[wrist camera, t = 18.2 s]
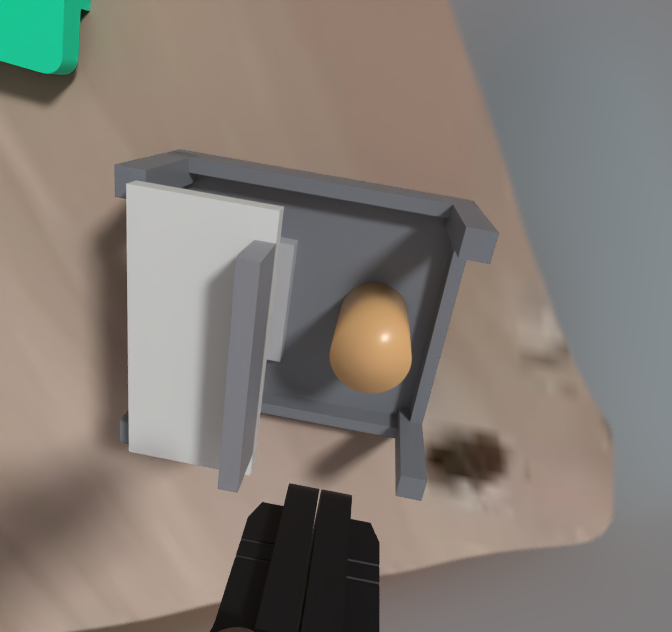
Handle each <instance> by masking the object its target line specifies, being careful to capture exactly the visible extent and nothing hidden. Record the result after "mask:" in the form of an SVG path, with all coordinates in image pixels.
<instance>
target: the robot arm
mask: <svg viewBox="0 0 672 632" xmlns="http://www.w3.org/2000/svg"><path fill="white" fill-rule="evenodd" d="M318 494H319V489H316V488H311V487H306V486H301V485H296V484H290V483H289V486H288V490H287V495H286V499H285V503H284V506H280V505H275V504H269V503H264V502H262V503H261V504H260V505H259V506H258V507H257V508H256V509H255V510H254V512H253V513H252V514H251V515H250V516H249V517H248V519H247V522H246V525H245V528H244V531H243V535H242V538H241V541H240V544H239V547H238V550H237V554H236V558H235V560H234V563H233V566H232V569H231V573H230V576H229V579H228V582H227V585H226V588H225V591H224V595H223V598H222V601H221V604H220V608H219V610H218V614H217V617H216V620H215V623H214V625H213V627H212V629H211V631H210V632H379V541H378V539H377V536H376V534H375V532H374V530H373V527H372V525H371V523H368V522H363V521H358V520H353V519H350V518H351V504H352V495H348V494H343V493H338V492H333V491H327V490H321V494H320V499H319V504H318V509H317V514H316V518H315V513H316V507H317V500H318ZM314 519H315V523H314ZM313 526H314V528H313ZM312 532H313V533H312Z"/></svg>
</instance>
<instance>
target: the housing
mask: <svg viewBox="0 0 672 632" xmlns="http://www.w3.org/2000/svg"><path fill="white" fill-rule="evenodd" d="M114 167H115V197H119V198H125V199H126V183H130V182H133V181H136V180H137V181H143V182H148V183H154V184H160V185H165V186H171V187H177V188H182V189H188V190H193V191H199V192H205V193H210V194H216V195H221V196H227V197H233V198H238V199H244V200H250V201H255V202H261V203H266V204H272V205H278V206H283V207H284V212H283V221H282V230H281V238H280V247H279V256H278V265H277V273H276V282H275V291H274V300H273V308H272V317H271V326H270V335H269V343H268V352H267V361H266V370H265V378H264V387H263V396H262V405H261V413H266V414H271V415H276V416H282V417H287V418H292V419H297V420H303V421H308V422H313V423H318V424H323V425H329V426H334V427H339V428H344V429H350V430H355V431H360V432H365V433H370V434H376V435H381V436H386V437H391V438H395V473H396V496H399V497H404V498H409V499H415V500H420V501H421V500H422V497H423V493H424V490H425V486H426V483H427V474H426V463H425V452H424V441H423V430H422V422H423V419H424V415H425V411H426V407H427V404H428V400H429V396H430V393H431V389H432V385H433V381H434V378H435V374H436V370H437V367H438V363H439V359H440V355H441V352H442V348H443V344H444V341H445V337H446V333H447V329H448V326H449V322H450V318H451V315H452V311H453V307H454V304H455V300H456V296H457V292H458V289H459V285H460V281H461V278H462V274H463V270H464V266H465V263H466V260H470V261H476V262H481V263H487V264H490V262H491V259H492V255H493V252H494V248H495V245H496V242H497V238H498V235H499V232H498V231H497V230H496V228H495V227H494V226H493V225H492V223H491V222H490V221H489V220H488V219H487V217H486V216H485V215H484V214H483V212H482V211H481V210H480V209H479V207H478V206H477V205H476V204H475V202H474V201H470V200H465V199H459V198H453V197H448V196H442V195H436V194H431V193H425V192H419V191H414V190H408V189H402V188H396V187H391V186H385V185H379V184H374V183H368V182H362V181H357V180H351V179H345V178H339V177H334V176H328V175H322V174H317V173H311V172H305V171H300V170H294V169H288V168H282V167H277V166H271V165H265V164H260V163H254V162H248V161H243V160H237V159H231V158H226V157H220V156H214V155H208V154H203V153H197V152H191V151H186V150H176V151H172V152H167V153H163V154H158V155H154V156H150V157H145V158H141V159H137V160H132V161H128V162H124V163H119V164H115V165H114ZM119 431H120V442H123V443H128V444H129V412H128V411H127V413H126V414H125V415H124V416H123V417H122V418H121V420H120V421H119Z"/></svg>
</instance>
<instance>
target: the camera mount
mask: <svg viewBox="0 0 672 632" xmlns="http://www.w3.org/2000/svg"><path fill="white" fill-rule="evenodd" d="M90 2H91V0H0V61H3V62H6V63H10V64H13V65H17V66H20V67H24V68H27V69H31V70H34V71H38V72H41V73H46V74H59V75H67V74H70V73H71V72H73V71H74V70H75V68H76V66H77V64H78V56H79V35H80V15H81V9H83V10H87V11H90Z"/></svg>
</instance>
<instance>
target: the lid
mask: <svg viewBox="0 0 672 632" xmlns="http://www.w3.org/2000/svg"><path fill="white" fill-rule="evenodd" d="M283 212H284V207H283V206H278V205H272V204H266V203H261V202H255V201H250V200H244V199H238V198H233V197H227V196H221V195H216V194H210V193H205V192H199V191H193V190H188V189H182V188H177V187H171V186H165V185H160V184H154V183H148V182H143V181H137V180H136V181H133V182H130V183H126V214H127V313H128V412H129V452H133V453H138V454H143V455H148V456H153V457H158V458H164V459H169V460H174V461H179V462H184V463H189V464H194V465H199V466H204V467H210V468H215V469H219V478H218V489H221V490H226V491H231V492H236V493H238V490H239V487H240V485H241V482H242V480H243V477H244V475H251V472H252V470H253V467H254V464H255V457H256V448H257V439H258V431H259V422H260V413H261V405H262V396H263V387H264V378H265V370H266V361H267V352H268V343H269V335H270V326H271V317H272V308H273V300H274V291H275V282H276V273H277V265H278V256H279V247H280V238H281V230H282V221H283Z"/></svg>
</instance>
